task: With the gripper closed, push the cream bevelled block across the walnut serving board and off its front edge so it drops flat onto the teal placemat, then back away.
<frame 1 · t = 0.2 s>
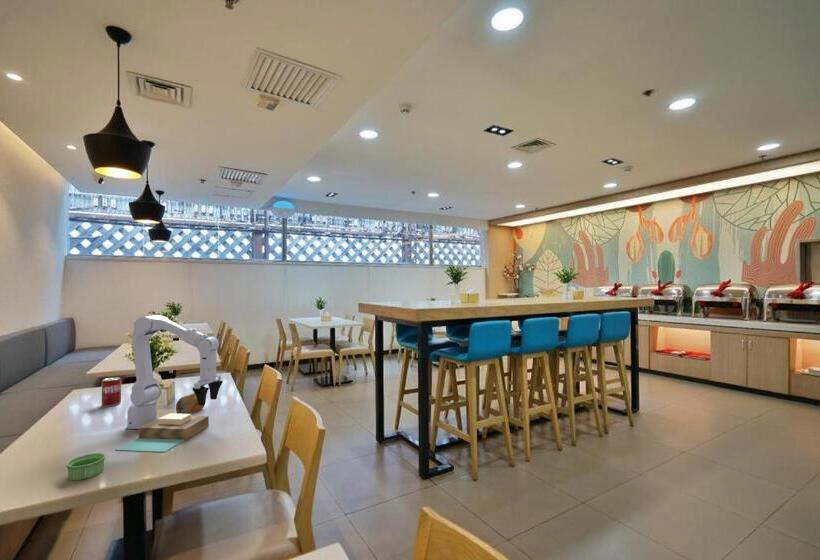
hand: (207, 402, 153), 10 cm above the table, tool pointing down, fingers open, 7 cm apart
cream bevelled block: (175, 421, 148), point 4 cm above the table, touching deck
ramekin: (86, 474, 116), on the table
tin: (191, 413, 170), on the table
deck: (175, 431, 148), on the table
mat: (151, 445, 136), on the table
soda can: (111, 404, 182), on the table
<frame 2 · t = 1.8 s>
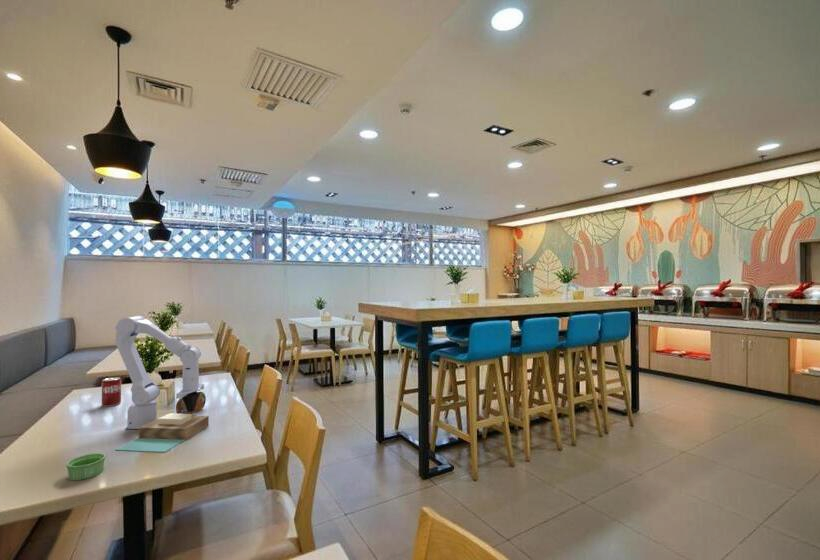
hand: (190, 411, 157), 5 cm above the table, tool pointing down, fingers closed
nothing on the table moved.
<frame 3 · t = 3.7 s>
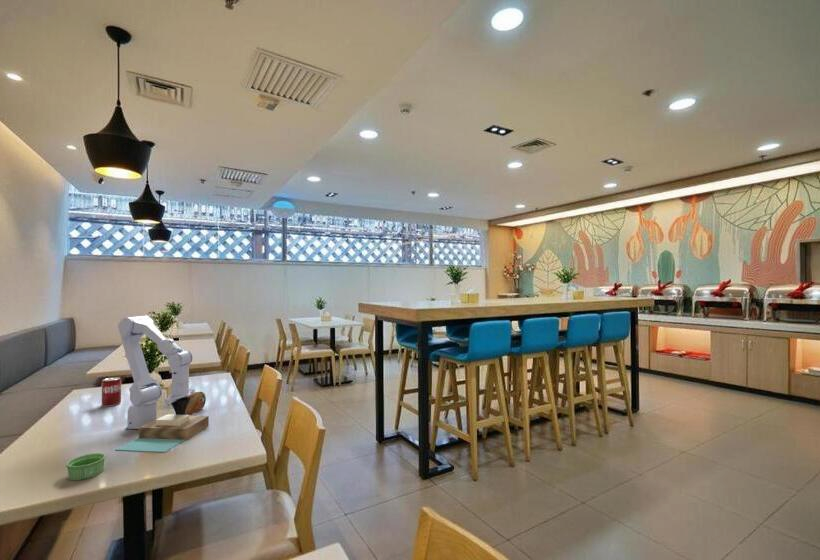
hand: (180, 417, 151), 5 cm above the table, tool pointing down, fingers closed
cream bevelled block: (173, 422, 147), point 4 cm above the table, touching gripper
everything else where it was.
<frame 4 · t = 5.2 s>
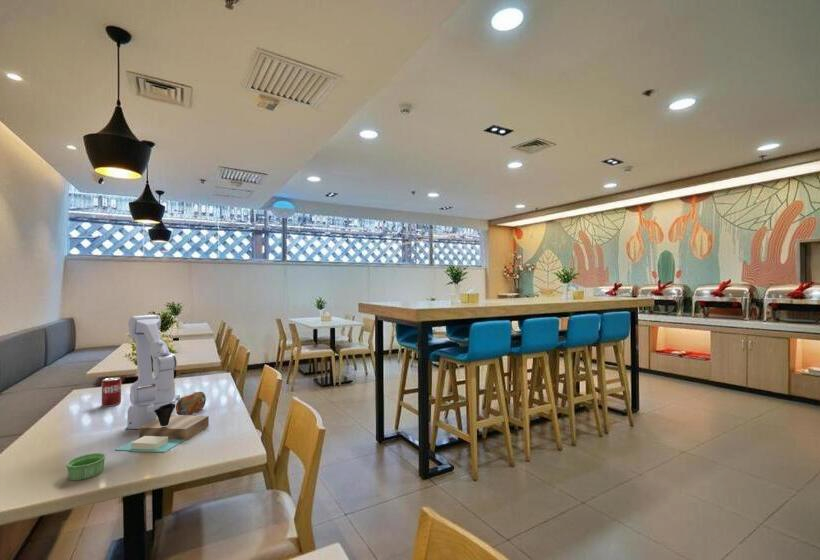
hand: (164, 425, 143), 5 cm above the table, tool pointing down, fingers closed
cream bevelled block: (149, 439, 135), point 2 cm above the table, tilted 180°, touching mat
everything else where it was.
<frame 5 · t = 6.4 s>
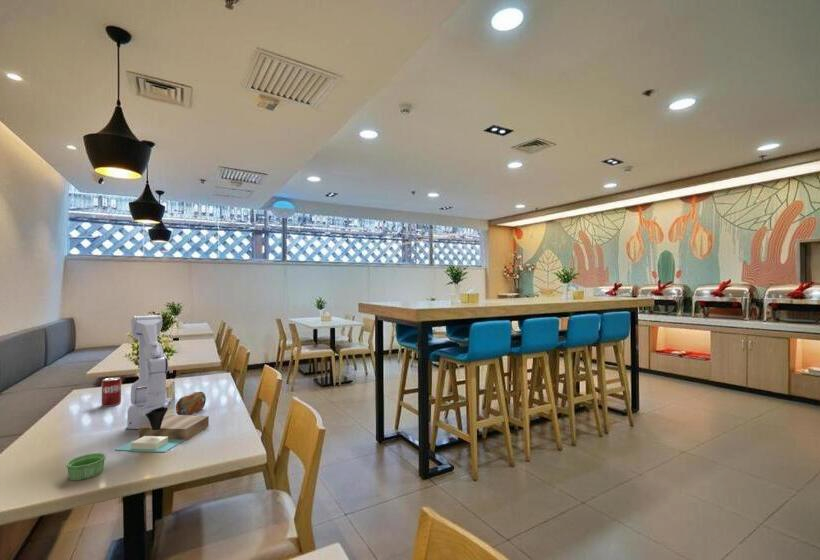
hand: (156, 429, 139), 5 cm above the table, tool pointing down, fingers closed
nothing on the table moved.
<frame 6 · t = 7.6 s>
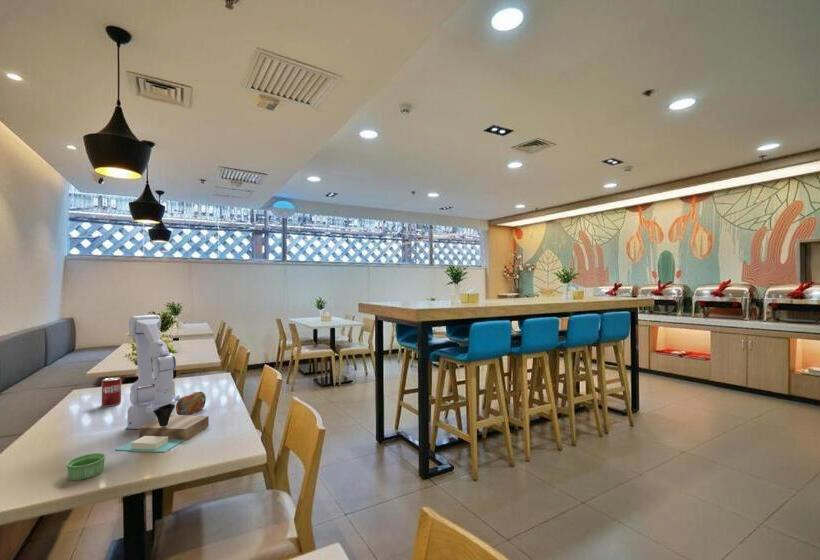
hand: (163, 425, 142), 5 cm above the table, tool pointing down, fingers closed
nothing on the table moved.
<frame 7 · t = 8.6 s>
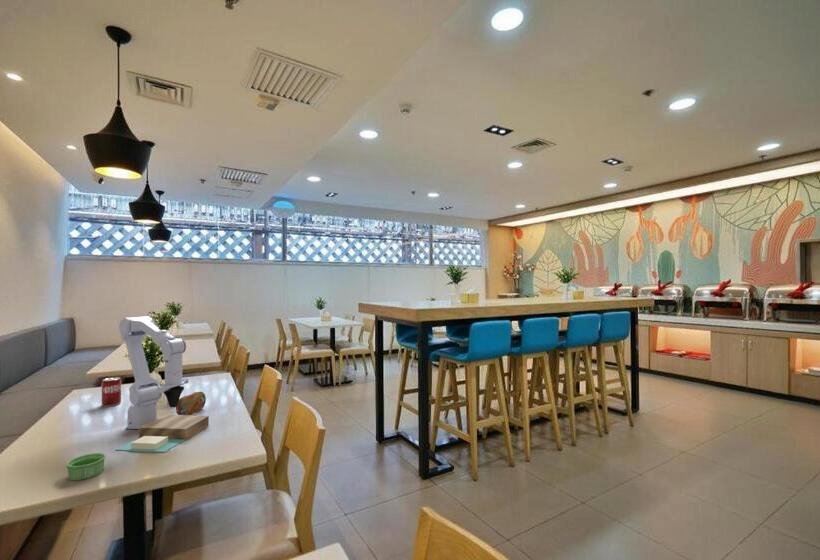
hand: (173, 406, 148), 10 cm above the table, tool pointing down, fingers closed
nothing on the table moved.
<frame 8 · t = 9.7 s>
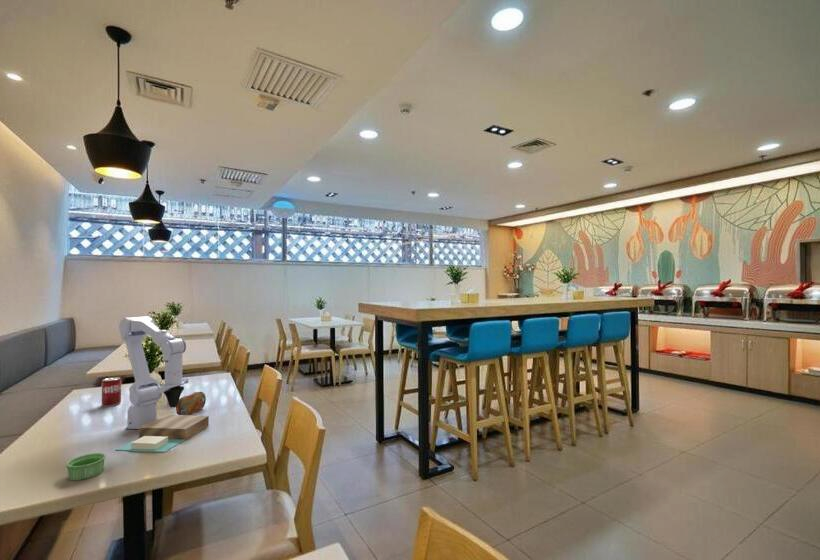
hand: (173, 406, 148), 10 cm above the table, tool pointing down, fingers closed
nothing on the table moved.
at the end: cream bevelled block inside the target area on the mat (0.8 cm from its centre), point 2.3 cm above the mat's base; cream bevelled block point 2.3 cm above the table; cream bevelled block touching mat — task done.
